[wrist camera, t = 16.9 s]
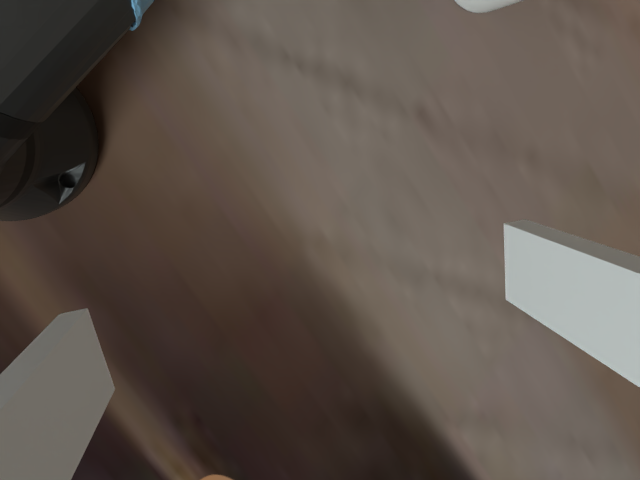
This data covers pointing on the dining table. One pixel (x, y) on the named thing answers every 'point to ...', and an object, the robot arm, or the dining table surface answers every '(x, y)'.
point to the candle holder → (485, 5)
